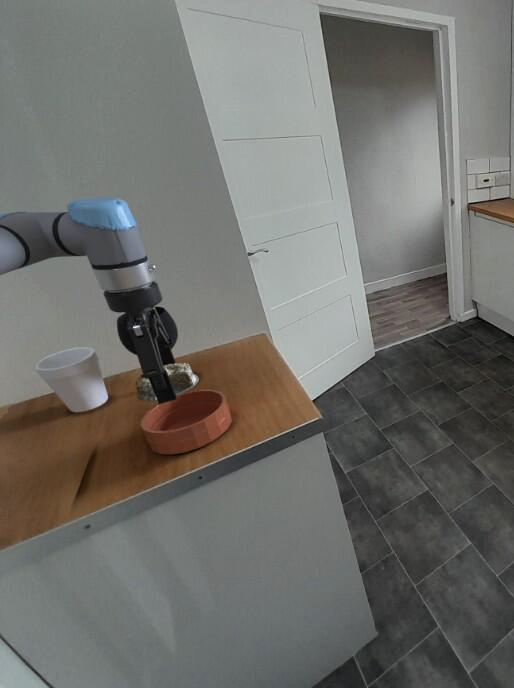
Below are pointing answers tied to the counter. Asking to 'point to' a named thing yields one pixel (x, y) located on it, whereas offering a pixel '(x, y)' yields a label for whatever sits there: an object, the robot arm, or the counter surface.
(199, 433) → the bowl
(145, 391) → the cake
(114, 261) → the robot arm
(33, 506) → the counter surface
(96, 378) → the foam cup
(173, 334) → the wine glass
